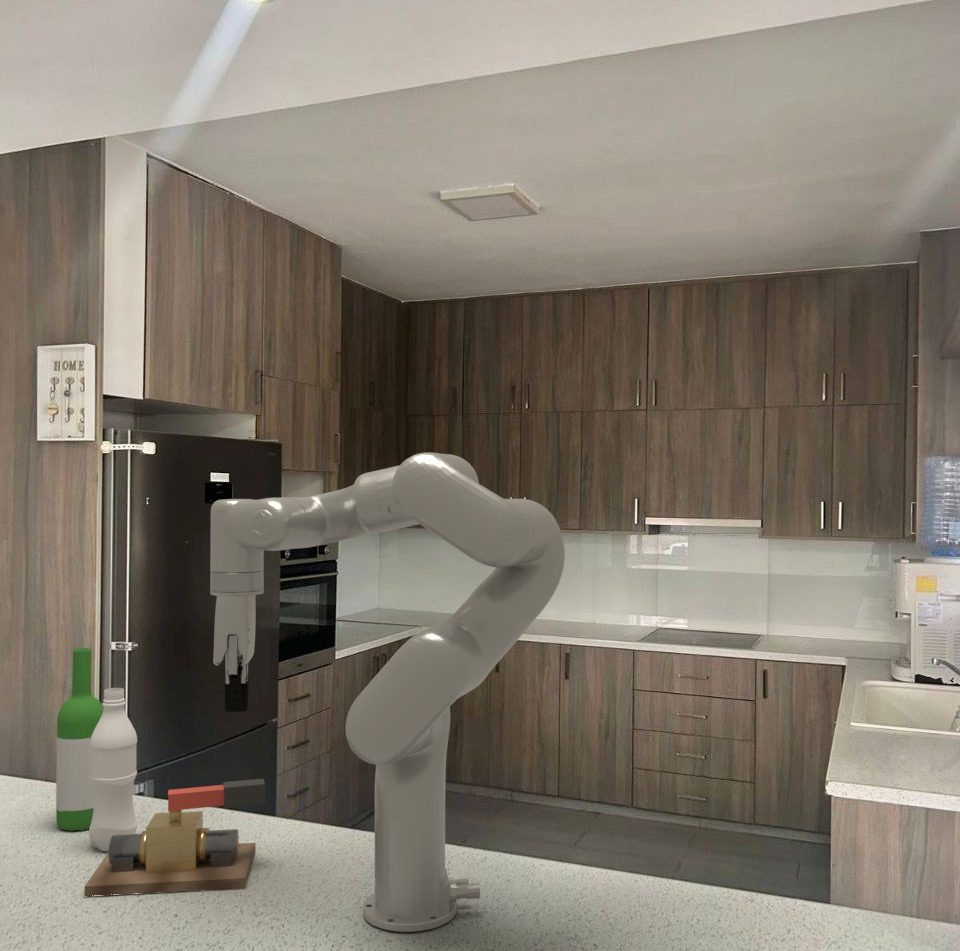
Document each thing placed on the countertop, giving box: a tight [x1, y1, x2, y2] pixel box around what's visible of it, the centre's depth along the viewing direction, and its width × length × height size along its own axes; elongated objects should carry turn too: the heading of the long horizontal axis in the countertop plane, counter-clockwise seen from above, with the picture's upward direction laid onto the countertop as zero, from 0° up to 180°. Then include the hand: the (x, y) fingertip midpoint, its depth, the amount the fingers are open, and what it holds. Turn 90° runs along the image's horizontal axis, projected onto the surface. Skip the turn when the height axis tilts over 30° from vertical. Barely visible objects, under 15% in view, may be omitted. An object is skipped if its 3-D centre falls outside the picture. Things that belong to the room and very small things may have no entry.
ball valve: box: [108, 810, 240, 873], centre depth 142 cm, size 18×6×6 cm, turn 97°
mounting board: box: [84, 842, 256, 898], centre depth 142 cm, size 22×14×2 cm, turn 97°
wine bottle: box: [55, 647, 104, 832], centre depth 163 cm, size 8×8×30 cm
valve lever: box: [167, 778, 266, 819], centre depth 144 cm, size 3×14×4 cm, turn 108°
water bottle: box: [88, 687, 138, 852], centre depth 154 cm, size 7×7×25 cm
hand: (236, 710), depth 138 cm, fingers closed
